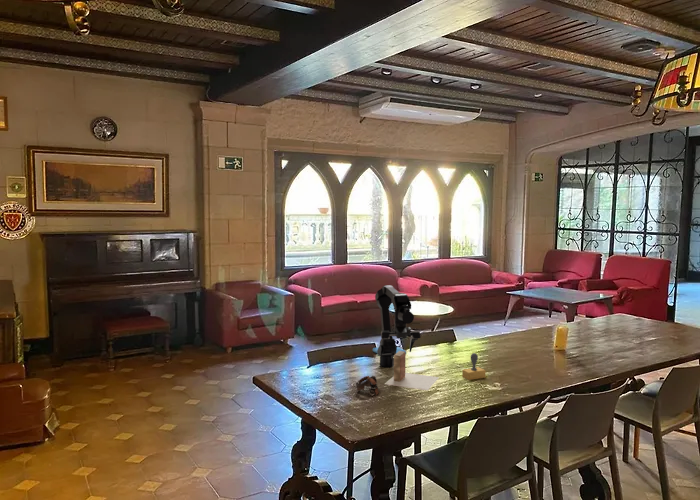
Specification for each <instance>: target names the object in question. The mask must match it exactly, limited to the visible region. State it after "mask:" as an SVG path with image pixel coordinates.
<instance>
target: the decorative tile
mask: <svg viewBox="0 0 700 500" xmlns="http://www.w3.org/2000/svg"><path fill="white" fill-rule="evenodd" d="M396 347H397V350H396V353H397V352H399V351H404V352H405V353H406V354H407V351H406V350H405V349H403V348H401V347H398V346H396ZM378 348H379V346H378V347H373V348H372V352H373V353H375V354H377V355H378V353H377V350H378Z"/></svg>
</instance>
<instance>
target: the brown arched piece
mask: <svg viewBox="0 0 700 500" xmlns="http://www.w3.org/2000/svg"><path fill="white" fill-rule="evenodd" d="M377 381H378V380H377V377H376V376H375V375H372V376H370V375H365V376H364V377H361V378H360V379H358V381H357V382H356V384H355V386H356V390H357V391H359V392H360V391H365V387H367V388H371V389H374V393H375V395H376V396H377V395H378V394H379V393H380V390H379V387H378V384H377V383H378V382H377Z"/></svg>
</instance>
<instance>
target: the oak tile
mask: <svg viewBox="0 0 700 500" xmlns="http://www.w3.org/2000/svg"><path fill="white" fill-rule="evenodd" d="M406 355H407V352H406V353H405V352H404V351H399V352H397V353H396V354H395V355H394V356H393V358H394V366H393V376H394V381H399V382H400V381H401V380H402V379H403V378H404V377H405V373H406Z"/></svg>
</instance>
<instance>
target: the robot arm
mask: <svg viewBox="0 0 700 500" xmlns="http://www.w3.org/2000/svg"><path fill="white" fill-rule="evenodd" d="M374 298H375V301H376V302H375V303H376V306H378V308H379V311H380V312H379V313H380V323H381V324H380V325H381V331H380V338H381V339H380V340H379V345H378V347H379V348H378V350H377V353H378V354H377V353H376V354H377V355H378V356H379V366H378V367H379V368H383V369H384V368H385V369H392V368H394V355H395V354H396V350H397V347H398V346H397V344H396V340H395V338H393V337H396V339H407V337H410V340H409V341H410V342H409V353H411V352H412V349H413V346H414V344H415V342H416V341H418V339H421V335H422V334H421V331H419V330H413V329H412V328H411V327H407V324H412V323H413V321H414V319H415V316H414V314H413V313H412V311H410V310H412V303H411V301H410V298H409V296H408V295H407V293H404V292H400V291H398V290H397V289H396V288H395V287H394V286H393V285H391V284H389V285H383V286H381V288H380V289H378V290H377V291H376V293H375V296H374ZM391 305H392V306H393V310H394V332H392V327H391V316H390V315H391V314H390V307H391ZM411 329H412V330H411Z"/></svg>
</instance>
